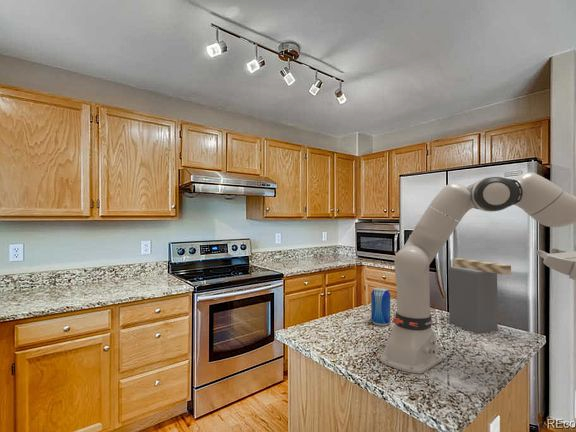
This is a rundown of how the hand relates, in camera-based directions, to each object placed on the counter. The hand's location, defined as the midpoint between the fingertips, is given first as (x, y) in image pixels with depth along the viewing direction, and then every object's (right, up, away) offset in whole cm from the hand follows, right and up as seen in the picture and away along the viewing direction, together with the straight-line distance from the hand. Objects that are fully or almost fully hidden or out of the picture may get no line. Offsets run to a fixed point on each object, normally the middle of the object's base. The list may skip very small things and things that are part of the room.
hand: (545, 250), depth 110 cm
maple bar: (-9, -11, +23) cm, 27 cm away
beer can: (-50, -37, +30) cm, 70 cm away
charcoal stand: (-10, -37, +26) cm, 46 cm away
